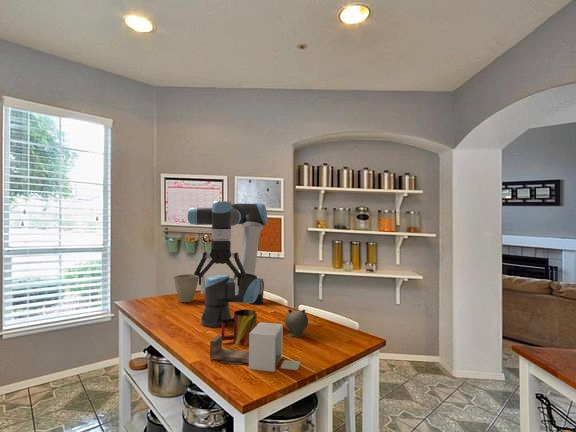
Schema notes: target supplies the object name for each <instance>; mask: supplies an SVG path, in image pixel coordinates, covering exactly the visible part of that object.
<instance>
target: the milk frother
mask: <svg viewBox="0 0 576 432" xmlns="http://www.w3.org/2000/svg"><path fill="white" fill-rule="evenodd" d="M257 279H258V280H259V281H260V289H259V294H258V297H257V299H256V301H255V302H253V303H248V304H249V305H255V306H256V305H263V303H264V289H265V281H264V278H263V277H262V278H261V277H257Z"/></svg>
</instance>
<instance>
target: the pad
mask: <svg viewBox="0 0 576 432" xmlns="http://www.w3.org/2000/svg"><path fill="white" fill-rule="evenodd" d="M300 366H301V361H297V360H296V361H295V360H289V359H288V360H287V359H286V360H285V359H284V360H283V361H282V363H281V366H280V367H279V368H280V369H283V370H290V371H291V370H293V371H298V370H299V368H300Z"/></svg>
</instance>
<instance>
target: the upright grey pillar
mask: <svg viewBox="0 0 576 432" xmlns="http://www.w3.org/2000/svg"><path fill="white" fill-rule="evenodd" d="M283 328H284V324H283V323H273V322H272V323H271V322H260V321H259V323H257V326H256V327H255V328H254V329H253V330H252V331H251V332H250V333H249V345H248V352H249V363H248V369H249V370H255V371H256V370H257V371H264V372H271V373H272V372H273V373H274V372H275V371H276V366H275V353H276V355H280V360H282V358H283V337H284V336H283V335H284V334H283V333H284V331H283V330H284V329H283Z"/></svg>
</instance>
